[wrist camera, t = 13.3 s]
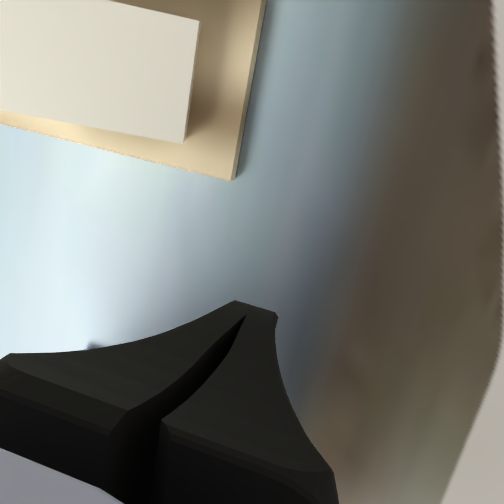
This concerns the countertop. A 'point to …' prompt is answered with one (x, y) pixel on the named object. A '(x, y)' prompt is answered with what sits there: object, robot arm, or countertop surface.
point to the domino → (98, 65)
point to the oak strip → (203, 93)
